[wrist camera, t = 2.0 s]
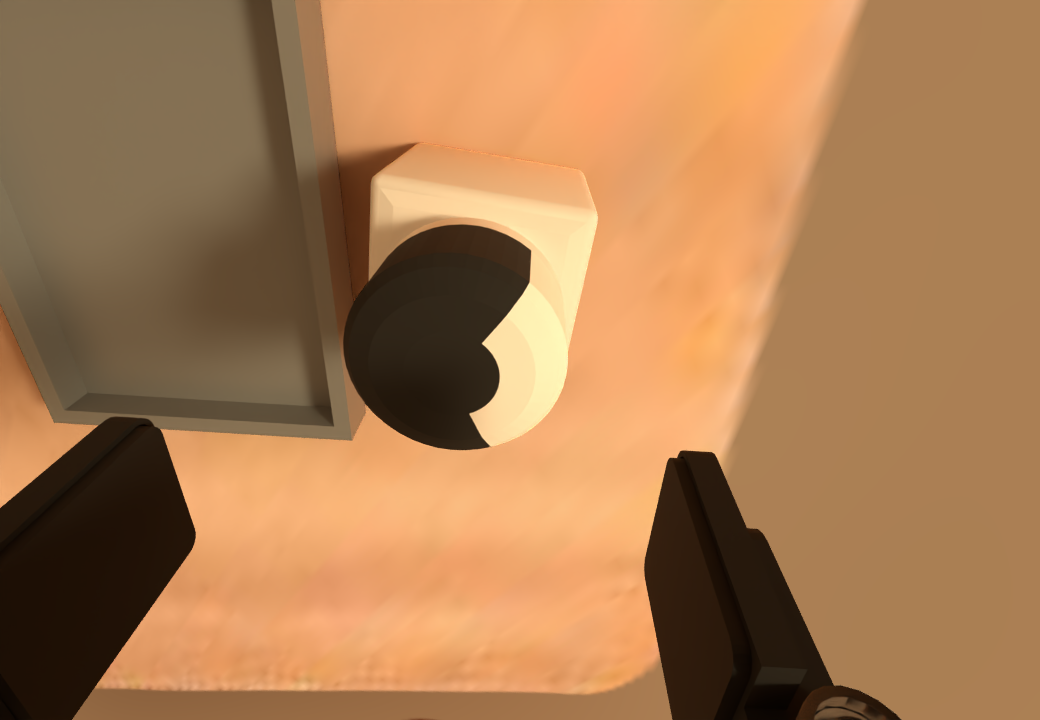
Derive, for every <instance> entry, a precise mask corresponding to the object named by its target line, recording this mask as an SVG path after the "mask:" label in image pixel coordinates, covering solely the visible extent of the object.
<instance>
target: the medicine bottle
mask: <svg viewBox="0 0 1040 720" xmlns="http://www.w3.org/2000/svg"><path fill="white" fill-rule="evenodd" d="M597 223H598V215H597V212H596V209H595V206H594V203H593V200H592V197H591V194H590V191H589V188H588V185H587V182H586V179H585V176H584V174H583V173H582V171H580V170H578V169H574V168H569V167H563V166H557V165H551V164H545V163H540V162H534V161H528V160H522V159H516V158H511V157H505V156H499V155H493V154H488V153H482V152H476V151H470V150H464V149H459V148H453V147H447V146H441V145H435V144H430V143H424V142H422V143H418V144H416V145H415V146H413V147H412V148H411V149H409V150H408V151H407V152H405V153H404V154H403V155H401V156H400V157H399V158H397V159H396V160H394V161H393V162H392V163H390V164H389V165H388V166H386V167H385V168H384V169H382V170H381V171H379V172H378V173H377V174H376V175H374V176H373V177H372V181H371V198H370V242H369V282H368V283H367V284H366V286H365V287H364V288H363V290H362V291H361V292H360V294H359V295H358V297H357V298H356V299H355V301H354V303H353V305H352V307H351V309H350V311H349V314H348V317H347V320H346V324H345V328H344V337H343V351H344V358H345V363H346V368H347V371H348V374H349V376H350V379H351V381H352V383H353V385H354V387H355V389H356V391H357V393H358V394H359V396H360V397H361V398H362V400H363V401H364V403H365V404H366V405H367V406H368V407H369V408H370V409H371V411H372V412H373V413H374V414H375V415H376V416H377V417H379V418H380V419H381V420H382V421H383V422H385V423H386V424H387V425H388V426H390V427H391V428H393V429H394V430H396V431H397V432H399V433H400V434H402V435H404V436H406V437H408V438H410V439H412V440H415V441H418V442H420V443H423V444H426V445H430V446H433V447H437V448H444V449H450V450H472V449H482V448H487V447H492V446H496V445H499V444H503V443H506V442H508V441H511V440H513V439H515V438H517V437H519V436H521V435H523V434H524V433H526V432H527V431H529V430H530V429H532V428H533V427H534V426H535V425H537V424H538V423H539V422H540V421H541V420H542V419H543V418H544V417H545V416H546V415H547V414H548V413H549V411H550V410H551V409H552V407H553V406H554V404H555V403H556V401H557V399H558V397H559V395H560V393H561V391H562V388H563V385H564V382H565V378H566V374H567V365H568V349H569V344H570V340H571V336H572V331H573V327H574V323H575V318H576V314H577V309H578V305H579V301H580V296H581V292H582V288H583V283H584V279H585V275H586V270H587V266H588V262H589V257H590V253H591V249H592V244H593V240H594V236H595V231H596V227H597Z"/></svg>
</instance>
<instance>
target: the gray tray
mask: <svg viewBox="0 0 1040 720" xmlns="http://www.w3.org/2000/svg"><path fill="white" fill-rule="evenodd" d="M0 305H1V307H2V309H3V311H4V313H5V316H6V318H7V320H8V322H9V324H10V327H11V329H12V331H13V333H14V335H15V338H16V340H17V342H18V344H19V346H20V349H21V351H22V353H23V355H24V357H25V360H26V362H27V364H28V366H29V368H30V371H31V373H32V375H33V377H34V379H35V382H36V384H37V386H38V388H39V390H40V393H41V395H42V397H43V399H44V401H45V404H46V406H47V408H48V410H49V412H50V415H51V417H52V419H53V421H54V423H69V424H86V425H100V424H101V423H102V422H103V421H105V420H106V419H108V418H110V417H115V416H118V417H135V418H146V419H149V420H150V421H151V422H153V424H154V426H155V427H158V428H159V429H168V430H185V431H202V432H218V433H235V434H251V435H268V436H285V437H301V438H318V439H334V440H351V441H352V440H353V438H354V436H355V433H356V431H357V429H358V427H359V425H360V423H361V421H362V419H363V417H364V415H365V413H366V412H365V403H364V401H363V400H362V398H361V397H360V396H359V394H358V393H357V391H356V389H355V387H354V385H353V383H352V381H351V379H350V376H349V374H348V371H347V368H346V363H345V358H344V351H343V337H344V328H345V324H346V320H347V317H348V314H349V311H350V309H351V307H352V305H353V295H352V286H351V277H350V268H349V259H348V250H347V241H346V232H345V223H344V214H343V205H342V196H341V187H340V178H339V169H338V160H337V151H336V142H335V133H334V123H333V114H332V105H331V96H330V87H329V78H328V69H327V60H326V51H325V42H324V33H323V24H322V15H321V6H320V0H0Z"/></svg>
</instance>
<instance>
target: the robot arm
mask: <svg viewBox="0 0 1040 720" xmlns="http://www.w3.org/2000/svg"><path fill="white" fill-rule="evenodd" d="M195 538H196V532H195V528H194V525H193V522H192V519H191V516H190V513H189V510H188V507H187V504H186V502H185V499H184V496H183V493H182V490H181V487H180V484H179V481H178V478H177V475H176V472H175V469H174V466H173V463H172V460H171V457H170V454H169V451H168V448H167V445H166V443H165V440H164V437H163V434H162V432H161V430H160V429H159V428H158V427H155V426H154V424H153V422H151V421H150V420H149V419H146V418H135V417H118V416H115V417H110V418H108V419H106V420H105V421H103V422H102V423H101V424H100V425H99V426H98V427H96V428H95V429H94V430H93V431H92V432H90V433H89V434H88V435H87V436H86V437H84V438H83V439H82V440H81V441H80V442H78V443H77V444H76V445H75V446H74V447H73V448H71V449H70V450H69V451H68V452H67V453H65V454H64V455H63V456H62V457H61V458H59V459H58V460H57V461H56V462H55V463H53V464H52V465H51V466H50V467H49V468H48V469H46V470H45V471H44V472H43V473H42V474H40V475H39V476H38V477H37V478H36V479H34V480H33V481H32V482H31V483H30V484H28V485H27V486H26V487H25V488H24V489H23V490H21V491H20V492H19V493H18V494H17V495H15V496H14V497H13V498H12V499H11V500H9V501H8V502H7V503H6V504H5V505H3V506H2V507H1V508H0V720H72V719H73V717H74V716H75V715H76V713H77V712H78V710H79V709H80V707H81V706H82V705H83V703H84V702H85V700H86V699H87V698H88V696H89V695H90V693H91V692H92V690H93V689H94V688H95V686H96V685H97V683H98V682H99V681H100V679H101V678H102V676H103V675H104V673H105V672H106V671H107V669H108V668H109V666H110V665H111V664H112V662H113V661H114V659H115V658H116V656H117V655H118V654H119V652H120V651H121V649H122V648H123V647H124V645H125V644H126V642H127V641H128V639H129V638H130V637H131V635H132V634H133V632H134V631H135V630H136V628H137V627H138V625H139V624H140V622H141V621H142V620H143V618H144V617H145V615H146V614H147V613H148V611H149V610H150V608H151V607H152V605H153V604H154V603H155V601H156V600H157V598H158V597H159V596H160V594H161V593H162V591H163V590H164V588H165V587H166V586H167V584H168V583H169V581H170V580H171V578H172V577H173V576H174V574H175V573H176V571H177V570H178V569H179V567H180V566H181V564H182V563H183V561H184V560H185V559H186V557H187V556H188V554H189V553H190V551H191V550H192V548H193V545H194V543H195ZM644 572H645V581H646V586H647V591H648V596H649V601H650V606H651V611H652V617H653V622H654V627H655V632H656V637H657V642H658V647H659V653H660V658H661V663H662V668H663V673H664V678H665V683H666V688H667V694H668V698H669V703H670V709H671V714H672V719H673V720H901V719H900V718H899V717H898V715H897V714H895V713H894V712H893V711H892V710H890V709H889V708H888V707H886V706H885V705H884V704H882V703H881V702H880V701H879V700H877V699H875V698H873V697H871V696H869V695H867V694H865V693H863V692H861V691H859V690H856V689H852V688H849V687H845V686H841V685H836V686H834V685H833V683H832V680H831V678H830V676H829V674H828V672H827V670H826V667H825V666H824V663H823V661H822V659H821V657H820V654H819V652H818V650H817V648H816V646H815V644H814V641H813V639H812V637H811V635H810V633H809V631H808V628H807V626H806V624H805V622H804V620H803V617H802V616H801V613H800V611H799V609H798V607H797V604H796V602H795V600H794V598H793V596H792V594H791V592H790V589H789V587H788V585H787V583H786V581H785V579H784V576H783V574H782V572H781V570H780V568H779V565H778V563H777V561H776V559H775V557H774V554H773V553H772V550H771V548H770V546H769V544H768V542H767V540H766V538H765V536H764V535H763V533H762V532H760V531H759V530H758V529H749V528H746V525H745V523H744V520H743V518H742V516H741V513H740V511H739V509H738V507H737V504H736V502H735V499H734V497H733V495H732V492H731V490H730V488H729V485H728V483H727V481H726V478H725V476H724V474H723V471H722V469H721V467H720V464H719V462H718V460H717V457H716V456H715V454H714V453H712V452H699V451H680V453H679V454H678V457H677V458H669V460H668V462H667V465H666V470H665V474H664V478H663V483H662V487H661V491H660V496H659V500H658V504H657V509H656V513H655V517H654V522H653V526H652V531H651V535H650V539H649V544H648V548H647V552H646V557H645V564H644Z"/></svg>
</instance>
